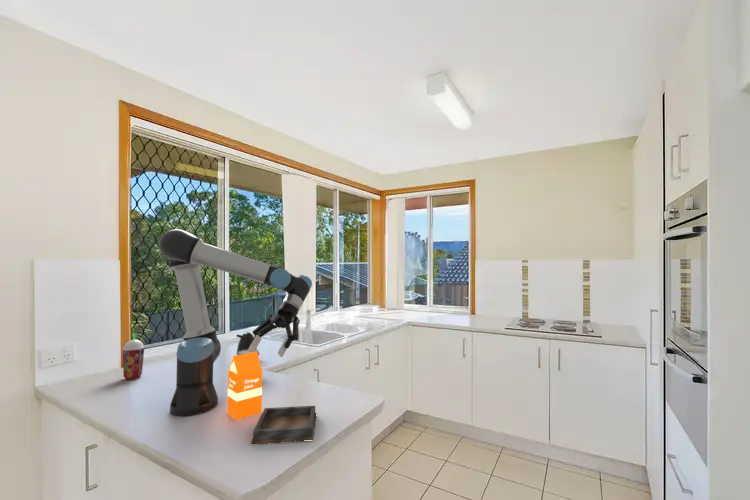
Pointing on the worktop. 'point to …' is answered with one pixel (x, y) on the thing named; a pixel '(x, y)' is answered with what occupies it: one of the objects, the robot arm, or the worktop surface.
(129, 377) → the smoothie
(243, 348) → the pump dispenser
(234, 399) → the orange juice
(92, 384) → the worktop surface
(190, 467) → the worktop surface
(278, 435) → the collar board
